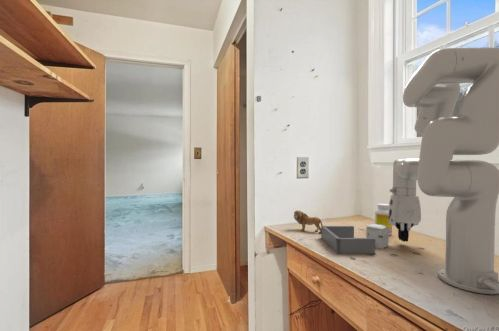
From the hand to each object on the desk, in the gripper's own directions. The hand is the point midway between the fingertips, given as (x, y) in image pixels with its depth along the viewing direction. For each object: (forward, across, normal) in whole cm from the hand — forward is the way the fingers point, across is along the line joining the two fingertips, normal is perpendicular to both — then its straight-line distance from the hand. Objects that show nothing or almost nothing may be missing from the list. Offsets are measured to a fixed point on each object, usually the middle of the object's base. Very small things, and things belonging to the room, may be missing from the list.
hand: (403, 240), depth 96 cm
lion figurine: (+2, -31, +19) cm, 37 cm away
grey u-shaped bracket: (+2, -22, 0) cm, 22 cm away
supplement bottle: (+2, +1, +16) cm, 16 cm away
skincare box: (+2, -10, 0) cm, 10 cm away
